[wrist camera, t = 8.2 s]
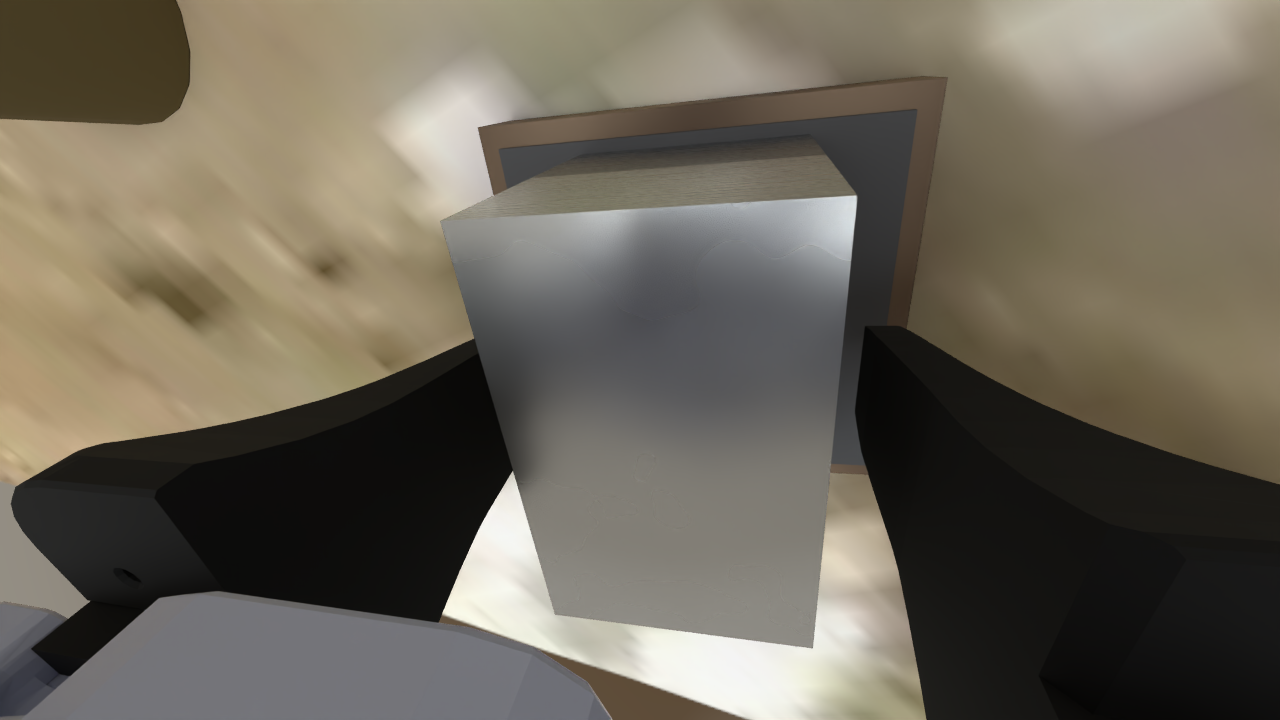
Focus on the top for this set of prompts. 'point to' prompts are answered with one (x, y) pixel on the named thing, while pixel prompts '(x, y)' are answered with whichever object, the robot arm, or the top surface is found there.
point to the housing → (669, 375)
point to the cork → (92, 60)
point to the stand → (834, 116)
